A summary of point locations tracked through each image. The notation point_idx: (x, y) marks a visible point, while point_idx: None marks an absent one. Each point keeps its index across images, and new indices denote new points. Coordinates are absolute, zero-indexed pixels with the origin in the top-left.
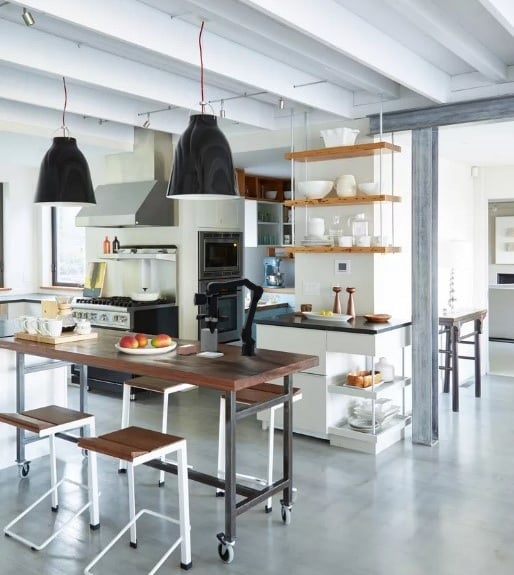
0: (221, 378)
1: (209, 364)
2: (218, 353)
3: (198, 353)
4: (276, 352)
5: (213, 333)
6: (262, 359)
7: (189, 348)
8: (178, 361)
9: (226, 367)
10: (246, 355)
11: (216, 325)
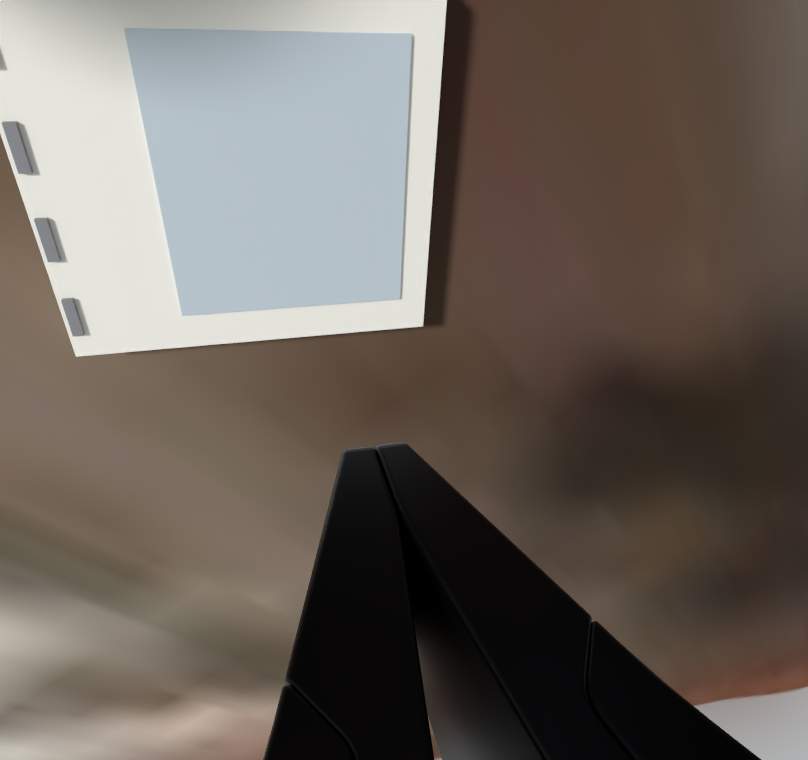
0: (760, 683)
1: (557, 546)
2: (369, 67)
3: (67, 317)
4: None
5: (404, 446)
6: None
7: None
8: (217, 634)
9: (729, 533)
10: None
11: (744, 757)
